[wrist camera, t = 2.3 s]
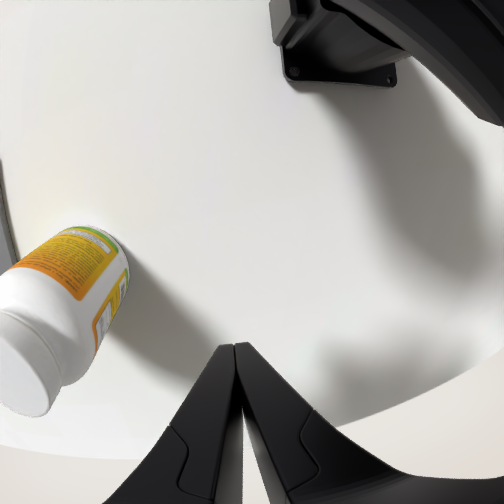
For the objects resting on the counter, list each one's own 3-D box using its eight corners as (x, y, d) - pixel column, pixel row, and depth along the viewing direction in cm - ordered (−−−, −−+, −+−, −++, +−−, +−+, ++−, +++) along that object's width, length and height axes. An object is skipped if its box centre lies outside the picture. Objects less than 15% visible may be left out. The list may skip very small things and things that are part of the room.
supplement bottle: (38, 240, 15) (-68, 322, 6) (109, 209, 15) (2, 291, 6) (75, 316, 17) (8, 429, 8) (146, 296, 17) (98, 430, 8)
